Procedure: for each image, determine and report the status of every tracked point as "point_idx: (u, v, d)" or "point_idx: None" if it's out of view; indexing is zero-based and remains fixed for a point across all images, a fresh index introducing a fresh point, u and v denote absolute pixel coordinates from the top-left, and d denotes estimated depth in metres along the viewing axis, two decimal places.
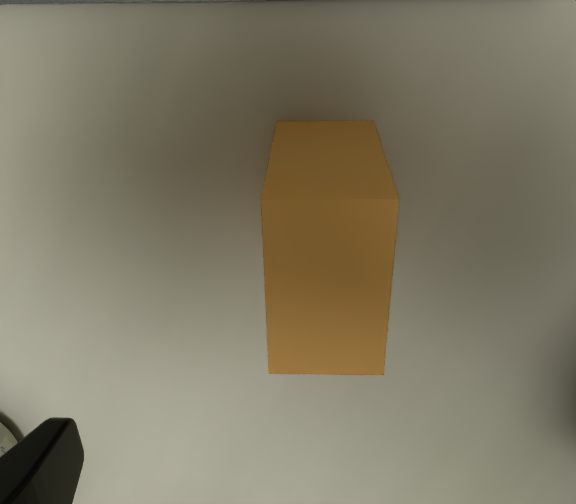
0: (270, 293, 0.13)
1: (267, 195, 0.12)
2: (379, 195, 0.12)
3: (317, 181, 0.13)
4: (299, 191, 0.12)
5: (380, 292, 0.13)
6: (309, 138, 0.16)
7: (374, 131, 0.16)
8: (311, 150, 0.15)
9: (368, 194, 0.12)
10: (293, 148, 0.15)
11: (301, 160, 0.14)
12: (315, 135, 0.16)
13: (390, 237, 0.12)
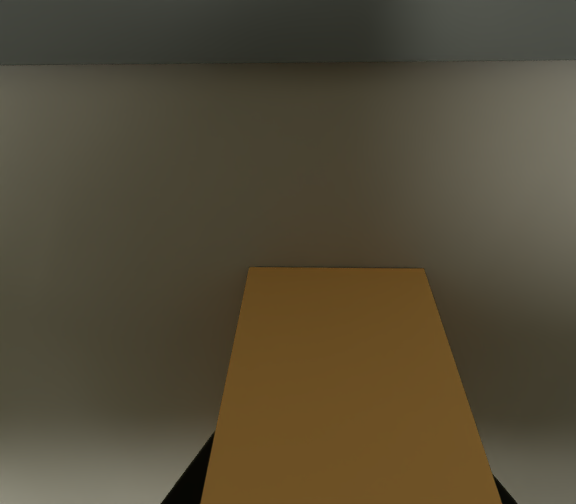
0: None
1: None
2: None
3: None
4: None
5: None
6: (307, 331, 0.08)
7: (432, 305, 0.08)
8: (311, 381, 0.07)
9: None
10: (273, 367, 0.07)
11: (288, 424, 0.06)
12: (320, 320, 0.08)
13: None
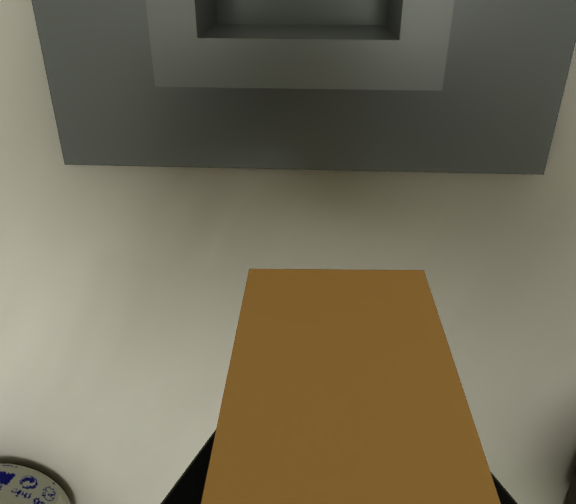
0: None
1: None
2: None
3: None
4: None
5: None
6: (306, 332, 0.08)
7: (431, 307, 0.08)
8: (312, 383, 0.07)
9: None
10: (272, 370, 0.07)
11: (289, 427, 0.06)
12: (320, 321, 0.08)
13: None
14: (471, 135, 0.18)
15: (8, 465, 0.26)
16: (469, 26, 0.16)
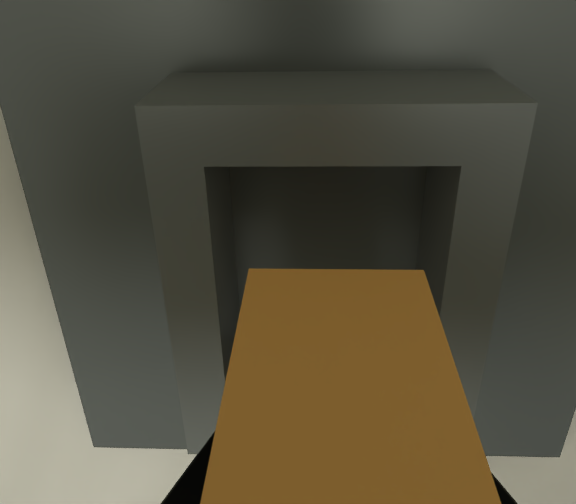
0: None
1: None
2: None
3: None
4: None
5: None
6: (306, 332, 0.08)
7: (432, 307, 0.08)
8: (312, 383, 0.07)
9: None
10: (272, 370, 0.07)
11: (288, 428, 0.06)
12: (319, 322, 0.08)
13: None
14: (489, 429, 0.18)
15: None
16: (487, 351, 0.17)
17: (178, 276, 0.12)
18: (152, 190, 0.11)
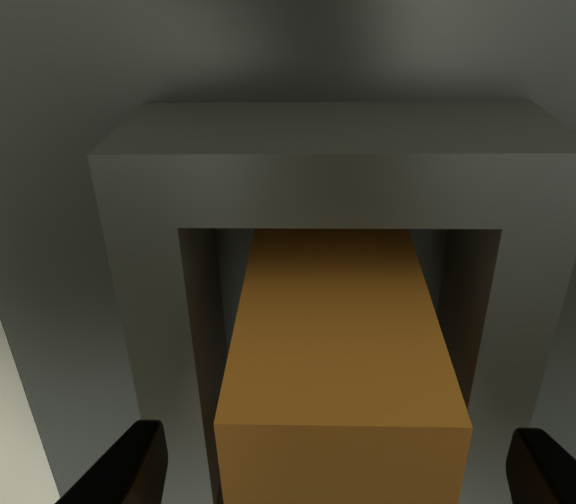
0: None
1: (226, 411, 0.07)
2: (433, 415, 0.07)
3: (318, 366, 0.07)
4: (285, 400, 0.07)
5: None
6: (306, 249, 0.10)
7: (406, 232, 0.11)
8: (309, 280, 0.09)
9: (412, 411, 0.07)
10: (280, 272, 0.09)
11: (292, 306, 0.09)
12: (316, 242, 0.10)
13: (452, 481, 0.07)
14: None
15: None
16: None
17: (149, 354, 0.10)
18: (113, 256, 0.09)
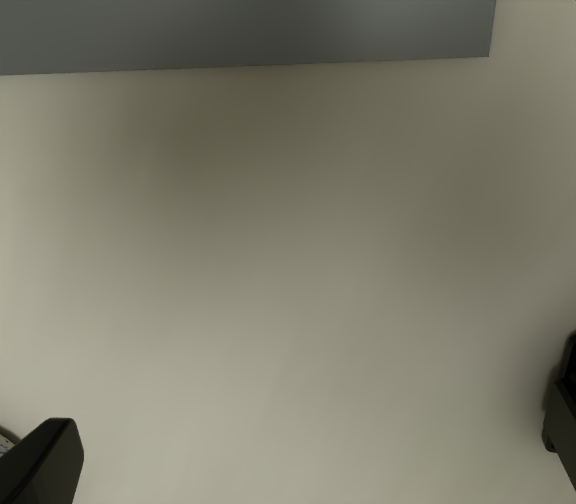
0: None
1: None
2: None
3: None
4: None
5: None
6: None
7: None
8: None
9: None
10: None
11: None
12: None
13: None
14: (406, 14, 0.16)
15: None
16: None
17: None
18: None
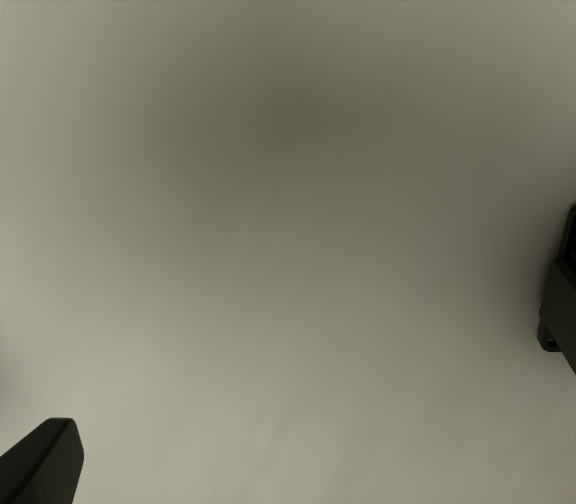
0: None
1: None
2: None
3: None
4: None
5: None
6: None
7: None
8: None
9: None
10: None
11: None
12: None
13: None
14: None
15: None
16: None
17: None
18: None
